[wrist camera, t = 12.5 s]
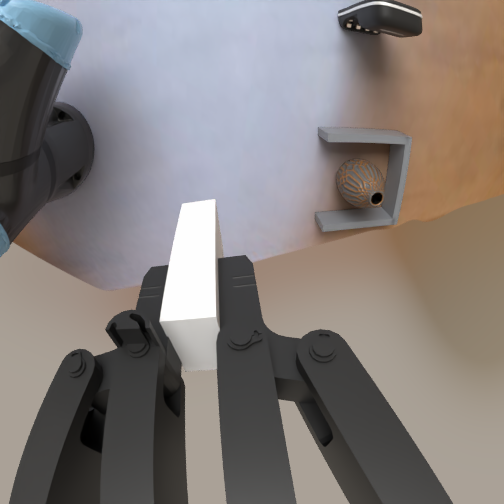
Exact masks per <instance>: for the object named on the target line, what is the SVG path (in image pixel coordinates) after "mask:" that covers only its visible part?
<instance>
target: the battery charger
mask: <svg viewBox="0 0 504 504" xmlns="http://www.w3.org/2000/svg"><path fill="white" fill-rule="evenodd" d="M338 17H339V22H340V25H341V27H342V28H344V29H346V30H351V31H356V32H362V33H367V34H372V35H378V34H379V33H385V34H389V35H392V36H396V37H400V38H401V37H412V36H418V35H420V34H421V33H422V15H421V12H420V11H419V10H418V9H416V8H414V7H411V6H408V5H406V4H403V3H400V2H397V1H394V0H364V1H361V2H359V3H356V4H354V5H352V6H349V7H347V8H345V9H342V10H339V11H338Z"/></svg>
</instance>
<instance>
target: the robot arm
mask: <svg viewBox="0 0 504 504" xmlns="http://www.w3.org/2000/svg"><path fill="white" fill-rule="evenodd" d="M82 32H83V29H82V25H81V22H80V21H79V20H78V19H77V18H75V17H74V16H72V15H70V14H68V13H66V12H64V11H61V10H59V9H56V8H54V7H51V6H49V5H46V4H43V3H40V2H37V1H33V0H0V257H1V256H2V255H3V254H4V253H5V252H7V250H8V249H9V247H10V244H11V243H12V242H13V241H14V239H15V238H16V237H17V236H18V234H19V233H20V232H21V231H22V230H23V228H24V227H25V226H26V225H27V224H28V223H29V221H30V220H31V219H32V218H33V217H34V216H35V215H36V214H37V213H38V211H39V210H40V209H41V208H42V207H43V206H44V205H45V204H46V203H48V202H51V201H54V200H57V199H60V198H63V197H65V196H67V195H69V194H70V193H72V192H73V191H74V190H75V189H76V188H77V187H78V186H79V185H80V184H81V183H82V182H83V181H84V180H85V178H86V177H87V175H88V173H89V171H90V169H91V166H92V162H93V156H94V143H93V137H92V133H91V130H90V127H89V125H88V123H87V121H86V120H85V118H84V117H83V115H82V114H81V113H80V112H79V111H78V110H77V109H75V108H74V107H72V106H70V105H68V104H65V103H61V102H55V101H56V98H57V95H58V93H59V90H60V87H61V85H62V82H63V80H64V78H65V75H66V73H67V71H68V70H70V67H71V65H70V63H71V60H72V58H73V55H74V53H75V50H76V48H77V46H78V44H79V42H80V40H81V37H82ZM105 330H106V332H107V333H108V334H109V336H110V337H111V339H112V340H113V342H114V343H115V344H116V346H117V347H118V348H117V349H115V350H113V351H110V352H107V353H104V354H101V355H97V356H93V355H92V354H91V353H90V352H89V351H87V350H85V349H77V350H74V351H72V352H71V353H69V354H68V355H67V356H66V357H65V358H64V360H63V361H62V363H61V365H60V367H59V369H58V371H57V373H56V375H55V377H54V379H53V381H52V383H51V385H50V387H49V389H48V392H47V394H46V396H45V398H44V400H43V403H42V405H41V407H40V410H39V412H38V414H37V417H36V419H35V422H34V425H33V427H32V429H31V432H30V435H29V437H28V440H27V443H26V446H25V449H24V452H23V455H22V458H21V461H20V464H19V467H18V470H17V474H16V477H15V481H14V485H13V489H12V493H11V497H10V502H9V504H188V493H187V478H186V452H185V385H184V381H183V379H182V377H181V364H182V366H183V368H184V370H185V371H202V370H217V378H218V399H219V414H220V415H219V416H220V431H221V444H222V458H223V470H224V481H225V491H226V501H227V504H296V498H295V493H294V487H293V481H292V476H291V470H290V465H289V459H288V453H287V447H286V442H285V436H284V431H283V425H282V419H281V414H280V408H279V402H278V399H281V400H288V401H294V402H295V404H296V406H297V407H298V409H299V411H300V413H301V415H302V417H303V419H304V421H305V423H306V425H307V427H308V429H309V431H310V432H311V434H312V436H313V438H314V440H315V442H316V444H317V445H318V447H319V449H320V451H321V453H322V455H323V457H324V458H325V460H326V462H327V464H328V466H329V468H330V469H331V471H332V473H333V475H334V477H335V478H336V480H337V482H338V484H339V486H340V487H341V489H342V491H343V493H344V494H345V496H346V498H347V500H348V501H349V503H350V504H453V503H452V501H451V499H450V498H449V496H448V495H447V493H446V491H445V490H444V488H443V487H442V485H441V483H440V482H439V480H438V478H437V477H436V475H435V474H434V472H433V470H432V469H431V467H430V466H429V464H428V463H427V461H426V459H425V458H424V456H423V455H422V453H421V452H420V451H419V449H418V447H417V446H416V444H415V443H414V441H413V440H412V438H411V436H410V435H409V433H408V432H407V431H406V429H405V427H404V426H403V424H402V423H401V421H400V420H399V418H398V417H397V415H396V414H395V412H394V411H393V409H392V408H391V406H390V405H389V403H388V402H387V401H386V399H385V397H384V396H383V395H382V393H381V392H380V390H379V389H378V387H377V386H376V384H375V383H374V381H373V380H372V378H371V377H370V376H369V374H368V373H367V371H366V370H365V368H364V367H363V366H362V364H361V363H360V361H359V360H358V358H357V357H356V355H355V354H354V353H353V351H352V350H351V348H350V347H349V345H348V344H347V343H346V341H345V340H344V339H343V338H342V337H341V336H340V335H339V334H337V333H335V332H332V331H330V330H321V329H320V330H315V331H311V332H309V333H308V334H306V335H305V336H303V337H302V339H299V338H291V337H285V336H280V335H278V334H276V333H274V332H272V331H271V330H269V329H268V328H267V327H266V325H265V324H264V322H263V319H262V314H261V309H260V303H259V297H258V291H257V286H256V280H255V275H254V268H253V263H252V262H251V261H250V260H249V259H248V258H247V257H246V255H243V256H234V257H226V258H223V245H222V239H221V233H220V226H219V220H218V213H217V206H216V199H213V200H205V201H198V202H190V203H183V204H182V207H181V211H180V216H179V220H178V224H177V229H176V233H175V238H174V243H173V248H172V252H171V257H170V263H169V265H165V266H157V267H151V268H150V270H149V271H148V272H147V274H146V275H145V276H144V279H143V282H142V286H141V290H140V294H139V299H138V302H137V307H136V310H128V311H123V312H121V313H120V314H118V315H116V316H114V318H112V320H111V321H110V322H109V323H108V325H107V327H106V329H105Z"/></svg>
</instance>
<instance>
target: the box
mask: <svg viewBox="0 0 504 504" xmlns="http://www.w3.org/2000/svg"><path fill="white" fill-rule="evenodd" d="M318 135H319V136H320V137H321V138H323V139H324V140H326V141H327V142H363V143H388V144H390V153H389V161H388V169H387V176H386V183H385V192H384V201H383V203H382V207H376V208H362V209H349V210H336V211H325V212H315V220H316V222H317V223H318V225H319V227H320V228H321V230H322V232H326V231H336V230H345V229H355V228H365V227H374V226H384V225H395V224H397V221H398V216H399V212H400V207H401V203H402V198H403V193H404V187H405V182H406V176H407V170H408V164H409V157H410V150H411V142H412V137H410V136H408V135H406V134H404V133H402V132H399V131H396V130H384V129H368V128H343V127H318Z"/></svg>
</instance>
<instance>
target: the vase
mask: <svg viewBox="0 0 504 504" xmlns="http://www.w3.org/2000/svg"><path fill="white" fill-rule="evenodd" d="M337 186H338V189H339V192H340V193H341V195H342V196H343V198H344V199H345V200H346V201H347V202H349V203H350V204H352V205H354V206H356V207H359V208H369V207H372V206H373V207H377V206H379V205H381V204H382V203H383V201H384V192H385V181H384V178H383V176H382V174H381V172H380V171H379V169H378V168H377V167H376V166H375V165H373V164H372V163H370V162H369V161H366V160H363V159H352V160H349V161H347V162H345V163H344V164H343V165H342V166H341V167H340V169H339V171H338V173H337Z"/></svg>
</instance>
